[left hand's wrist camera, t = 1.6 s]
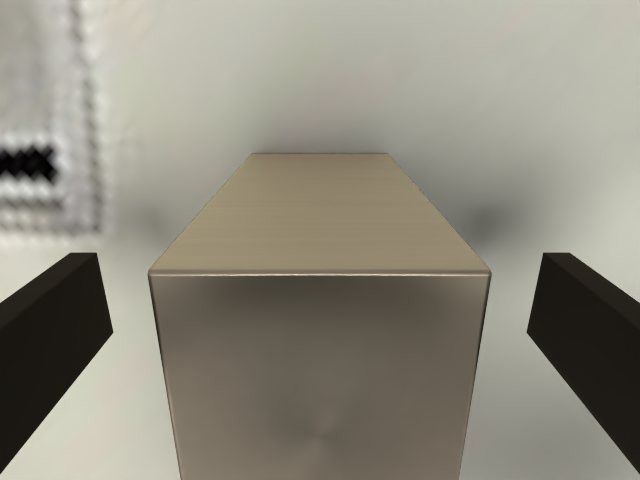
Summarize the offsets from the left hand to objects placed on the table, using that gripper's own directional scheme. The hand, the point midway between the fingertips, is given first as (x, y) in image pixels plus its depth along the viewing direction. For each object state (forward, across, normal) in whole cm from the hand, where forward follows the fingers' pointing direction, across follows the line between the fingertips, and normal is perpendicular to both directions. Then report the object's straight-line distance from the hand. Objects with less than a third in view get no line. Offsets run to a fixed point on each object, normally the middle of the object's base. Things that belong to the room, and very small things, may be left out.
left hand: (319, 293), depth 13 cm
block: (+6, 0, 0) cm, 6 cm away
